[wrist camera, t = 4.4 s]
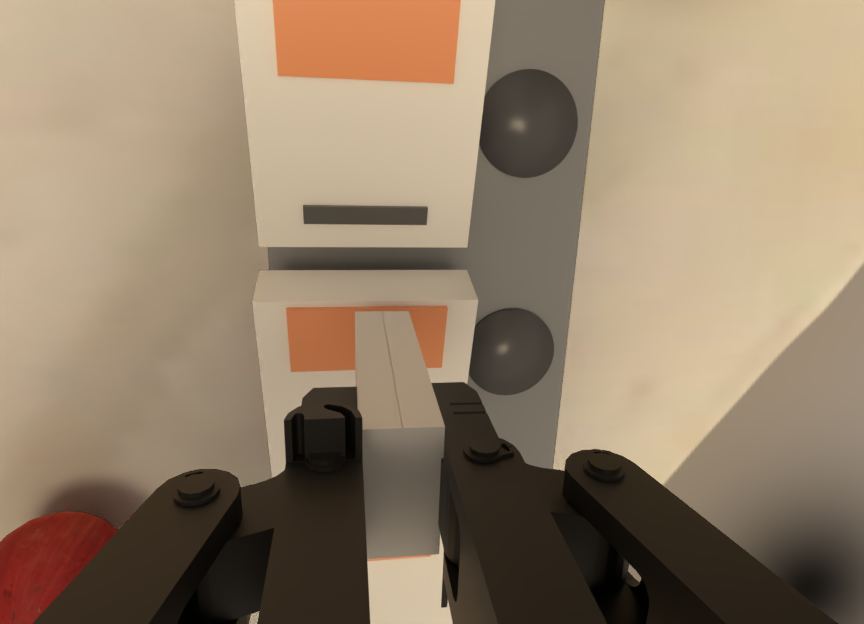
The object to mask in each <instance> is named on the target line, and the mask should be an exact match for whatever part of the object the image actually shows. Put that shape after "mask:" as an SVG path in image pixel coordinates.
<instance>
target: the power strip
mask: <svg viewBox="0 0 864 624" xmlns="http://www.w3.org/2000/svg"><path fill="white" fill-rule="evenodd" d="M604 3H605V0H495V9H494V17H493V26H492V35H491V44H490V52H489V61H488V70H487V79H486V88H485V96H484V105H483V114H482V123H481V131H480V140H479V149H478V158H477V166H476V175H475V184H474V193H473V202H472V210H471V219H470V228H469V237H468V245H467V248H435V247H268V258H269V270H467V271H468V274H469V277H470V279H471V282H472V284H473V287H474V290H475V292H476V295H477V298H478V306H477V314H476V321H475V329H474V336H473V344H472V351H471V359H470V367H469V374H468V382H467V385H469V386H470V387H471V388H473V389H474V390H476V391H477V393H478V395H479V397H480V399H481V401H482V404H483V405H484V408H485V410H486V413H487V414H488V416H489V418H490V420H491V422H492V424H493V427H494V429H495V431H496V433H497V435H498V437H499V438H501V439H504V440H506V441H508V442H509V443H511V444H513V445H514V446H515V447H516V448H517V449H518V451H519V452H520V454H521V456H522V457H523V459H524V461H525V463H526V464H529V465H532V466H537V467H542V468H548V469H553V463H554V454H555V445H556V436H557V427H558V418H559V409H560V400H561V391H562V382H563V373H564V364H565V355H566V346H567V337H568V328H569V319H570V310H571V301H572V292H573V283H574V274H575V265H576V255H577V246H578V237H579V228H580V219H581V210H582V201H583V192H584V183H585V174H586V165H587V156H588V147H589V138H590V129H591V120H592V111H593V102H594V93H595V84H596V75H597V66H598V57H599V48H600V39H601V30H602V21H603V12H604Z"/></svg>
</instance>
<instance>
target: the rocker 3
mask: <svg viewBox="0 0 864 624" xmlns="http://www.w3.org/2000/svg"><path fill="white" fill-rule="evenodd" d="M443 557H444V548H443V544H442V539H441V535H440V547H439V554H436V555H421V556H406V557H392V558H377V559H367V564H368V585H369V607H370V624H453V622H452V617H451V612H450V607H449V602H448V603H447V607H443V608H441V598H442V578H443Z"/></svg>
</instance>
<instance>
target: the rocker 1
mask: <svg viewBox="0 0 864 624" xmlns="http://www.w3.org/2000/svg"><path fill="white" fill-rule="evenodd" d="M234 4H235V14H236V24H237V34H238V44H239V54H240V64H241V74H242V84H243V94H244V104H245V114H246V124H247V134H248V144H249V154H250V164H251V174H252V184H253V194H254V204H255V214H256V224H257V234H258V244H259V247H435V248H467V245H468V237H469V228H470V219H471V210H472V202H473V193H474V184H475V175H476V166H477V158H478V149H479V140H480V131H481V123H482V114H483V105H484V96H485V88H486V79H487V70H488V61H489V52H490V44H491V35H492V26H493V17H494V9H495V0H234Z"/></svg>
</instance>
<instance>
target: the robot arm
mask: <svg viewBox="0 0 864 624" xmlns="http://www.w3.org/2000/svg"><path fill="white" fill-rule="evenodd" d="M355 385H356V387H323V388H313V389H311V390H310V391H309V392H308V393H307V394H306V395H305V396H304V397H303V398H302V404H301V406H299V407H297V408H295V409H294V410H292V411H291V412H289V413H288V414H287V416H286V417H285V419H284V436H285V456H286V465H285V470H284V471H283V472H281V473H280V474H278V475H277V476H275V477H273V478H271V479H269V480H266V481H263V482H260V483H257V484H253V485H249V486H245V487H240V484H239V481H238V478H237V477H235V476H234V475H232V474H231V473H229V472H226V471H222V470H217V469H199V470H194V471H189V472H186V473H183V474H181V475H178V476H176V477H174V478H171V479H169V480H168V481H166V482H165V483H164V484H162V485H161V486H160V487H159V488H157V489H156V490H155V492H154V493H153V494H152V495H151V496H150V497H149V498H148V499H147V500H146V501H145V502H144V503H143V504H142V506H141V507H140V508H139V509H138V510H137V511H136V512H135V513H134V514H133V515H132V516H131V517H130V518H129V520H128V521H127V522H126V523H125V524H124V525H123V526H122V527H121V528H120V529H119V530H118V531H117V533H116V534H115V535H114V536H113V537H112V538H111V539H110V540H109V541H108V542H107V543H106V544H105V545H104V547H103V548H102V549H101V550H100V551H99V552H98V553H97V554H96V555H95V556H94V557H93V558H92V560H91V561H90V562H89V563H88V564H87V565H86V566H85V567H84V568H83V569H82V570H81V571H80V572H79V574H78V575H77V576H76V577H75V578H74V579H73V580H72V581H71V582H70V583H69V584H68V585H67V586H66V588H65V589H64V590H63V591H62V592H61V593H60V594H59V595H58V596H57V597H56V598H55V599H54V601H53V602H52V603H51V604H50V605H49V606H48V607H47V608H46V609H45V610H44V611H43V612H42V613H41V615H40V616H39V617H38V618H37V619H36V620H35V621H34V622H33V623H32V624H249V620H250V616H251V614H252V613H255V612H258V611H260V612H259V618H258V623H257V624H370V607H369V585H368V564H367V559H377V558H392V557H406V556H421V555H436V554H439V547H440V535H441V539H442V544H443V548H444V557H443V578H442V598H441V608H443V607H447V603H448V602H449V607H450V612H451V617H452V622H453V624H838V623H836V622H835V621H834V620H833V619H831V618H830V617H829V616H828V615H826V614H825V613H824V612H822V611H821V610H820V609H819V608H817V607H816V606H815V605H814V604H812V603H811V602H810V601H809V600H807V599H806V598H805V597H804V596H802V595H801V594H800V593H798V592H797V591H796V590H795V589H793V588H792V587H791V586H790V585H788V584H787V583H786V582H784V581H783V580H782V579H781V578H779V577H778V576H777V575H776V574H774V573H773V572H772V571H771V570H769V569H768V568H767V567H765V566H764V565H763V564H762V563H760V562H759V561H758V560H756V559H755V558H754V557H753V556H751V555H750V554H749V553H748V552H746V551H745V550H744V549H743V548H741V547H740V546H739V545H738V544H736V543H735V542H734V541H732V540H731V539H730V538H729V537H727V536H726V535H725V534H723V533H722V532H721V531H720V530H718V529H717V528H716V527H715V526H713V525H712V524H711V523H710V522H708V521H707V520H706V519H705V518H703V517H702V516H700V515H699V514H698V513H697V512H696V511H694V510H693V509H692V508H690V507H689V506H688V505H687V504H685V503H684V502H683V501H682V500H680V499H679V498H678V497H677V496H675V495H674V494H673V493H671V492H670V491H669V490H668V489H667V488H665V487H664V486H663V485H661V484H660V483H659V482H658V481H656V480H655V479H654V478H653V477H651V476H650V475H649V474H647V473H646V472H645V471H644V470H642V469H641V468H640V467H639V466H637V465H636V464H635V463H633V462H632V461H630V460H628V459H627V458H625V457H623V456H621V455H618V454H615V453H612V452H610V451H606V450H598V449H593V450H581V451H578V452H576V453H573V454H571V455H570V456H569V457H568V458H567V459H566V463H565V471H562V470H555V469H548V468H542V467H537V466H532V465H529V464H526V463H525V461H524V459H523V457H522V456H521V454H520V452H519V451H518V449H517V448H516V447H515V446H514V445H513V444H511V443H509V442H508V441H506V440H504V439H501V438H499V437H498V435H497V433H496V431H495V429H494V427H493V424H492V422H491V420H490V418H489V416H488V414H487V413H486V410H485V408H484V405H483V404H482V401H481V399H480V397H479V395H478V393H477V391H476V390H474V389H473V388H471V387H470V386H469V385H467V384H466V383H464V382H446V383H431V381H430V377H429V374H428V371H427V368H426V365H425V361H424V358H423V355H422V352H421V349H420V346H419V342H418V339H417V336H416V333H415V330H414V327H413V323H412V320H411V317H410V314H409V311H359V312H355ZM629 564H630V565H631V566H632V567H633V568H634V569H635V570H636V571H637V572H638V574H639V575H640V576H641V581H640V582H638V581H637V580H636V579H635V578H634V577H633V576H632V575H631V574H630V573H629V572H628V567H629Z"/></svg>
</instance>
